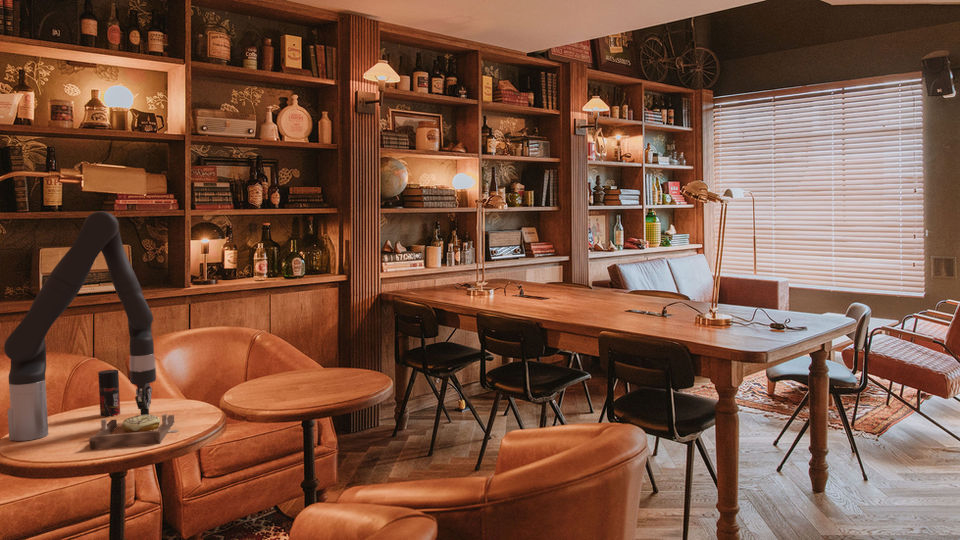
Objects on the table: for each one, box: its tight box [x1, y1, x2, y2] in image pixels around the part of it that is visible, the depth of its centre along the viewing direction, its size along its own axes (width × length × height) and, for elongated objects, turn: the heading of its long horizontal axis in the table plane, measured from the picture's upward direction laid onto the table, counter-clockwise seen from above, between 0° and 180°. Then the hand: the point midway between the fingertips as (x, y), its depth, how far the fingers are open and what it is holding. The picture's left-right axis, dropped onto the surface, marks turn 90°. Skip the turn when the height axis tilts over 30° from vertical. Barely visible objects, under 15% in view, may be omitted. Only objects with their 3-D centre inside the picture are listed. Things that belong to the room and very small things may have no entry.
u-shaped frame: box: [89, 413, 178, 450], centre depth 202 cm, size 25×22×6 cm
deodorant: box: [97, 369, 121, 417], centre depth 225 cm, size 6×6×15 cm
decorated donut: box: [122, 414, 161, 433], centre depth 209 cm, size 10×11×4 cm
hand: (145, 419), depth 216 cm, fingers closed
